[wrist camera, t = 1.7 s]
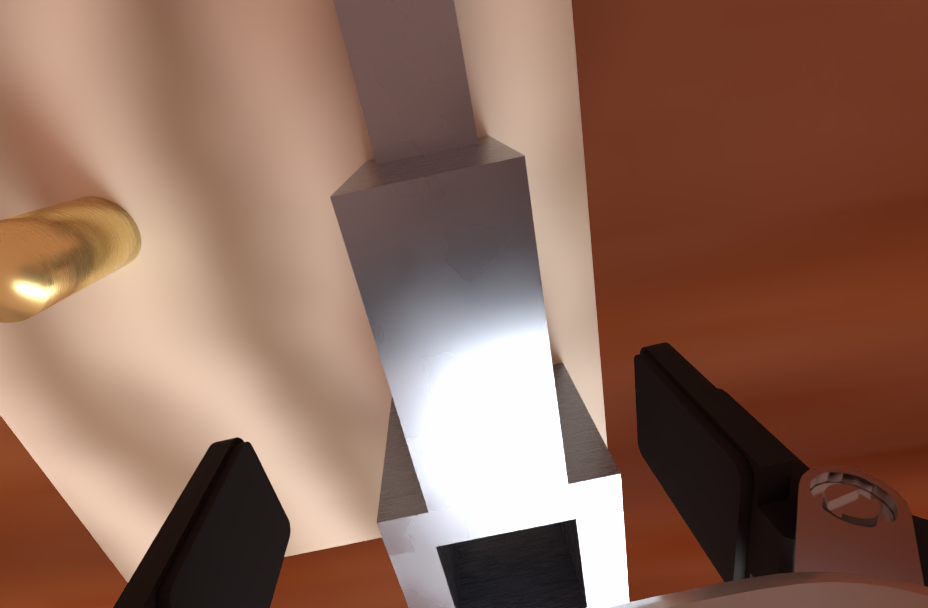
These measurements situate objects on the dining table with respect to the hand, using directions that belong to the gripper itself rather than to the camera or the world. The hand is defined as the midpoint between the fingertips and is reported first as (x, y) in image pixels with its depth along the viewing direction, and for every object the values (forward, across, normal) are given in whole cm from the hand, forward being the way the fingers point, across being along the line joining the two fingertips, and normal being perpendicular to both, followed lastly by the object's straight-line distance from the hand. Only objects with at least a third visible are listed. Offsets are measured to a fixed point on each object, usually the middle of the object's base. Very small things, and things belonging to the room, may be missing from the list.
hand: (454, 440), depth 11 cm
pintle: (+9, +10, -6) cm, 15 cm away
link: (+7, -1, 0) cm, 7 cm away
